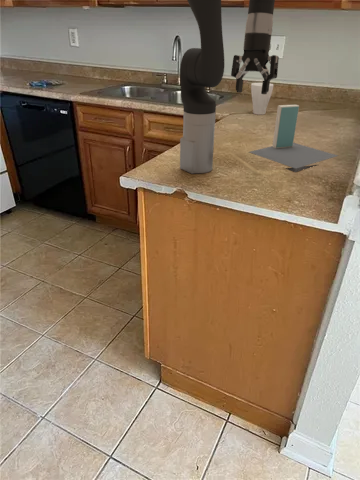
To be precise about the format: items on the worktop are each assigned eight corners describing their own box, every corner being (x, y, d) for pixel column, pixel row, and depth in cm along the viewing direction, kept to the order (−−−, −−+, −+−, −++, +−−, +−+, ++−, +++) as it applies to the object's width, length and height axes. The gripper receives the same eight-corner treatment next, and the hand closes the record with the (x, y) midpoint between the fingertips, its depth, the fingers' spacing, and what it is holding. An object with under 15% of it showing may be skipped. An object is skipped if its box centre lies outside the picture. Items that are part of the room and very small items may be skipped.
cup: (269, 116, 182) (273, 86, 175) (247, 115, 183) (250, 85, 177) (269, 111, 191) (273, 83, 184) (248, 110, 192) (251, 82, 186)
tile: (272, 146, 134) (277, 105, 127) (289, 145, 136) (295, 104, 129) (275, 148, 132) (281, 106, 125) (293, 146, 134) (299, 105, 127)
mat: (295, 172, 115) (295, 168, 115) (248, 155, 129) (248, 151, 129) (337, 159, 127) (338, 155, 126) (290, 144, 141) (290, 141, 140)
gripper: (230, 32, 110) (224, 91, 116) (275, 30, 102) (266, 94, 108) (243, 35, 116) (237, 92, 122) (287, 33, 107) (278, 94, 114)
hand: (251, 93), depth 115 cm, fingers open, 8 cm apart
